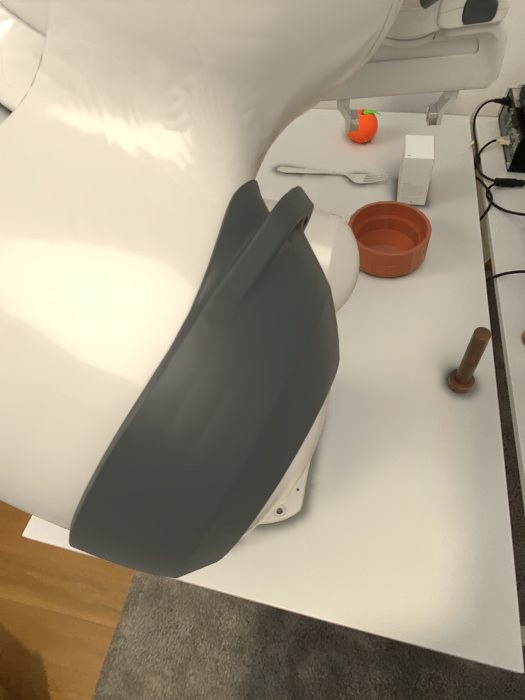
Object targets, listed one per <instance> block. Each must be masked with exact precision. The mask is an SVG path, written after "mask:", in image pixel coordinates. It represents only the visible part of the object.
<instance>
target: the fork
mask: <svg viewBox="0 0 525 700" xmlns="http://www.w3.org/2000/svg"><path fill="white" fill-rule="evenodd" d="M276 171H278V172H279V173H286V174H287V173H288V174H313V175H314V174H320V175H321V174H325V175H326V174H337V175H343V176H345V177H347V178H348V179H350V180H351V181H352V182H353V183H355V184H368V183H369V184H371V183H377V182H382V181H387V180H388V176H389V174H390V172H380V173H348V172H345V171H339V170H322V169H312V168H311V169H310V168H301V167H294V166H279V167H277V169H276Z"/></svg>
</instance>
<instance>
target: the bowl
mask: <svg viewBox="0 0 525 700" xmlns="http://www.w3.org/2000/svg"><path fill="white" fill-rule="evenodd" d="M347 224H348V225H349V227H350V228H351V230H352V232H353V234H354V236H355V239H356V242H357V245H358V249H359V257H360V268H359V271H363V272H364V273H367V274H369V275H372V276H376V277H380V278H381V277H382V278H397V277H401V276H404V275H408V274H410V273H412V272H414V271H415V270H417V269H418V268H420V266H421V265H422V264H423V263H424V261H425V259H426V255H427V252H428V248H429V243H430V239H431V236H432V231H433V228H432V224H431V220H430V219H429V218H428V217H427V215H426V214H425V213H424V212H423V211H421V210H420V209H418V208H417V207H415V206H414V205H410V204H405V203H402V202H397V201H395V200H380V201H374V202H371V203H366V204H365V205H363V206H361V207H359V208H357V209H356V211H354V212H353V214H351V216H350V218H349V220H348V222H347Z"/></svg>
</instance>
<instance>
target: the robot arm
mask: <svg viewBox="0 0 525 700" xmlns="http://www.w3.org/2000/svg"><path fill="white" fill-rule="evenodd" d="M510 7H511V0H0V502H3V503H5V504H7V505H10V506H11V507H13V508H16V509H17V510H20V511H23V512H25V513H27V514H29V515H31V516H34V517H37V518H39V519H41V520H44V521H46V522H49V523H51V524H53V525H55V526H58V527H60V528H62V529H64V530H67V531H69V533H68V544H69V546H70V547H71V548H73V549H75V550H79V551H81V552H83V553H85V554H88V555H90V556H93V557H96V558H98V559H100V560H104V561H106V562H109V563H112V564H115V565H119V566H120V567H124V568H127V569H128V570H129V569H130V570H134V571H137V572H141V573H145V574H148V575H153V576H157V577H163V578H164V577H165V578H168V579H180V578H182V577H185V576H187V575H189V574H192V573H194V572H196V571H199V570H202V569H204V568H206V567H209V566H212V565H213V564H216V563H218V562H219V561H221V560H222V559H224V558H225V556H227V555H228V554H229V553H230V552H231V550H232V549H233V548H234V547H235V546H236V545H237V544H238V543H239V541H240V540H241V539H242V538H243V537H244V536H246V535H248V534H250V532H252V530H254V529H255V528H257V526H258V525H267V524H268V525H269V524H273V523H278V522H281V521H284V520H287V519H289V518H292V517H293V516H296V515H297V514H298V513H300V512H301V511H302V507H303V504H304V500H305V499H304V498H305V493H306V487H307V483H308V478H309V472H310V466H311V462H312V461H311V460H312V457H313V455H314V454H315V451H316V449H317V447H318V444H319V442H320V441H319V440H320V438H321V436H322V432H323V430H324V426H325V423H326V419H327V414H328V409H329V405H330V401H331V391H332V386H333V384H334V381H335V378H336V375H337V372H338V369H339V365H340V359H341V357H340V356H341V355H340V337H339V336H340V335H339V326H338V319H337V315H336V314H338V312H339V311H340V310H341V309H342V308H343V307H344V306H345V305H346V304H347V302H348V301H349V299H350V298H351V296H352V295H353V292H354V290H355V288H356V285H357V282H358V279H359V275H360V269H359V268H360V257H359V249H358V245H357V242H356V239H355V236H354V234H353V232H352V230H351V228H350V227H349V225H348V222H347V221H346V220H345V218H344V217H343V216H341V215H339V214H335V213H332V212H329V211H326V210H323V209H320V208H317V207H315V204H314V203H313V201H312V200H311V198H310V197H309V195H308V194H307V193H306V191H305V190H304V188H303V187H302V186H300V185H296V186H294V187H292V188H290V190H288V191H286V193H285V194H283V195H282V197H281V198H280V199H271V198H264V197H263V195H262V192H261V189H260V185H259V181H258V180H257V179H256V178H257V175H258V173H259V170H260V168H261V166H262V163H263V161H264V160H265V158H266V156H267V154H268V152H269V150H270V149H271V147H272V145H274V142H275V141H276V140H277V139H278V137H279V136H280V135H281V134H282V133H283V132H284V131H285V129H286V128H287V127H288V126H290V124H292V123H293V122H294V121H295V120H297V119H298V118H299V117H301V116H303V115H304V114H305V113H307V112H309V111H310V110H312V109H313V108H315V107H316V106H317V105H318V104H320V103H321V102H331V101H332V102H333V101H336V109H337V110H338V111H339V113H340V114H341V116H342V117H343V119H344V131H345V132H346V133H347V132H349V131H350V132H351V131H358V124H359V116H358V110H359V109H351V108H350V106H351V105H350V104H351V100H356V99H357V100H358V99H370V98H382V97H397V96H407V95H409V96H410V95H421V94H433V93H441V95H440V97H438V99H437V100H436V101H435V103H428V104H427V108H426V113H425V122H426V126H427V127H428V126H441V124H442V121H443V117H444V113H446V112H447V110H449V108H451V106H452V105H453V104H454V103H455V102H456V101H457V100H458V98H459V93H460V91H470V90H471V91H472V90H485V89H488V88H490V87H491V85H493V84H494V83H495V82H496V81H497V80H498V78H499V76H500V74H501V69H502V66H503V63H504V58H505V53H506V48H507V41H508V29H507V26H506V24H505V21H504V20H505V18H506V17H507V15H508V12H509V10H510ZM279 510H281V511H282V512H281V513H278V512H277V511H279Z"/></svg>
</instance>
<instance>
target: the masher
mask: <svg viewBox="0 0 525 700" xmlns="http://www.w3.org/2000/svg"><path fill="white" fill-rule="evenodd" d="M491 338H492V331H491V330H490V329H489V328H487V327H485V326H478V327H476V328H475V329H474V330H473V332H472V334H471V337H470V340H469V342H468V344H467V346H466V349H465V351H464V353H463V356H462V358H461V360H460V362H459V365H458V367H457V368H455V369H453V370H452V371H451V372H450V374H449V376H448V378H447V385H448V387H449V389H450V390H451V391H452V392H454V393H457V394H461V395H462V394H463V395H464V394H468V393H469V392H471V391H472V389H473V387H474V385H475V383H476V378H475V376H474V374H475V372H476V369H477V367H478V366H479V364H480V361H481V359H482V357H483V355H484V353H485V350H486V349H487V347H488V345H489V343H490V340H491Z"/></svg>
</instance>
